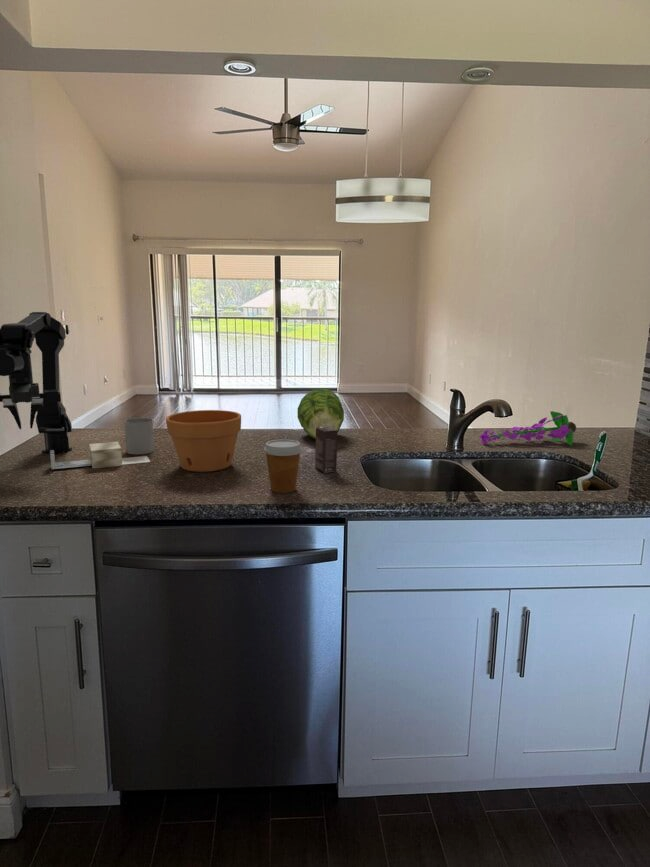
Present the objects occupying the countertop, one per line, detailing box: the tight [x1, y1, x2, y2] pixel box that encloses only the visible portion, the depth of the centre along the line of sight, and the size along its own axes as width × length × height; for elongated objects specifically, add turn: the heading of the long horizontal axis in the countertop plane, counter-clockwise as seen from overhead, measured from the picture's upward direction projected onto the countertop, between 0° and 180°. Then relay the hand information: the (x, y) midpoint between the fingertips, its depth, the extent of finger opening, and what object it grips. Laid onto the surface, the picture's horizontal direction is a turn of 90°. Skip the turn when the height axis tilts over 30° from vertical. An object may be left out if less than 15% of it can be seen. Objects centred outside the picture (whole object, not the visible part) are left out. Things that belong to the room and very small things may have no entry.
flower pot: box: [165, 409, 242, 473], centre depth 168 cm, size 21×21×15 cm
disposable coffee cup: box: [263, 439, 303, 494], centre depth 147 cm, size 10×10×12 cm
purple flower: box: [479, 410, 577, 447], centre depth 201 cm, size 12×16×35 cm
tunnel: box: [88, 441, 123, 469], centre depth 170 cm, size 8×9×5 cm
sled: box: [49, 450, 92, 470], centre depth 168 cm, size 18×5×4 cm, turn 115°
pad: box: [122, 455, 151, 466], centre depth 174 cm, size 8×7×1 cm
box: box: [314, 427, 339, 474], centre depth 165 cm, size 6×4×12 cm
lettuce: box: [297, 388, 345, 440], centre depth 204 cm, size 17×23×16 cm
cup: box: [124, 417, 155, 455], centre depth 184 cm, size 8×8×10 cm
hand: (25, 428), depth 160 cm, fingers open, 2 cm apart
